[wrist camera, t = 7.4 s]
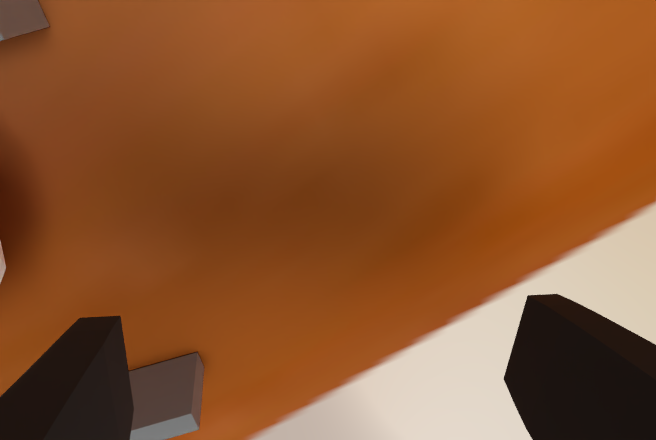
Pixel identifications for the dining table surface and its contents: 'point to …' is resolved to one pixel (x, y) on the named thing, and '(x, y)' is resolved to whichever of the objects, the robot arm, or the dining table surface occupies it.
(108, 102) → the dining table surface
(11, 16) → the tray
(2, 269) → the geometric ball
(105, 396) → the robot arm
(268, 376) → the dining table surface
